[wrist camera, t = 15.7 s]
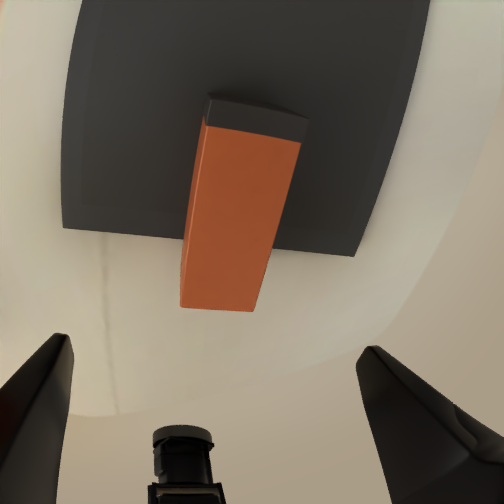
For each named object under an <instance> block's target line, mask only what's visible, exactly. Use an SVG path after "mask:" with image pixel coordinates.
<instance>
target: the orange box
mask: <svg viewBox="0 0 504 504" xmlns="http://www.w3.org/2000/svg"><path fill="white" fill-rule="evenodd" d="M309 121H310V119H309V118H308V117H305V116H303V115H301V114H299V113H296V112H294V111H292V110H290V109H287V108H285V107H282V106H277V105H273V104H268V103H264V102H259V101H254V100H249V99H244V98H238V97H233V96H227V95H221V94H215V93H207V94H206V98H205V103H204V108H203V120H202V125H201V130H200V136H199V141H198V147H197V153H196V159H195V165H194V171H193V177H192V183H191V190H190V197H189V204H188V211H187V218H186V225H185V233H184V241H183V249H182V257H181V272H180V306H181V307H182V308H195V309H210V310H227V311H246V312H253V311H254V308H255V305H256V301H257V298H258V294H259V291H260V288H261V284H262V281H263V277H264V274H265V270H266V267H267V264H268V260H269V257H270V253H271V250H272V246H273V243H274V239H275V236H276V232H277V229H278V225H279V222H280V218H281V215H282V211H283V208H284V204H285V201H286V197H287V193H288V190H289V186H290V183H291V179H292V175H293V172H294V168H295V165H296V161H297V157H298V154H299V150H300V146H301V143H303V142H304V139H305V135H306V132H307V128H308V124H309Z"/></svg>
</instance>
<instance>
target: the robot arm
mask: <svg viewBox="0 0 504 504" xmlns="http://www.w3.org/2000/svg"><path fill="white" fill-rule="evenodd" d="M73 366H74V353H73V349H72V345H71V341H70V337H69V336H68V335H67V334H62V333H54V334H53V335H52V336H51V337H50V338H49V339H48V340H47V341H46V342H45V343H44V344H43V345H42V346H41V347H40V348H39V349H38V350H37V351H36V352H35V353H34V354H33V355H32V356H31V357H30V358H29V359H28V360H27V361H26V362H25V363H24V364H23V365H22V366H21V367H20V368H19V369H18V370H17V371H16V372H15V374H14V375H13V376H12V377H11V378H10V379H9V380H8V381H7V382H6V383H5V384H4V385H3V386H2V387H1V389H0V504H56V497H57V486H58V477H59V468H60V459H61V453H62V446H63V440H64V434H65V428H66V422H67V417H68V412H69V404H70V393H71V383H72V374H73ZM356 372H357V376H358V381H359V386H360V390H361V395H362V400H363V404H364V408H365V411H366V415H367V418H368V421H369V425H370V428H371V431H372V434H373V437H374V441H375V444H376V448H377V451H378V454H379V458H380V461H381V465H382V468H383V472H384V475H385V479H386V483H387V486H388V490H389V494H390V498H391V502H392V504H504V437H502V436H500V435H499V434H497V433H496V432H494V431H493V430H491V429H490V428H488V427H486V426H485V425H483V424H481V423H480V422H479V421H477V420H476V419H474V418H473V417H471V416H470V415H469V414H467V413H466V412H464V411H463V410H461V409H460V408H459V407H458V406H457V405H455V404H453V402H451V401H450V400H449V399H447V398H446V397H445V396H443V395H442V394H441V393H439V392H438V391H437V390H436V389H434V388H433V387H432V386H431V385H429V384H428V383H427V382H425V381H424V380H423V379H421V378H420V377H419V376H417V375H416V374H415V373H414V372H412V371H411V370H410V369H408V368H407V367H406V366H404V365H403V364H402V363H400V362H399V361H398V360H397V359H395V358H394V357H392V356H391V355H390V354H389V353H387V352H386V351H385V350H383V349H382V348H381V347H379V346H377V345H375V346H367V347H366V348H365V349H364V351H363V353H362V354H361V356H360V357H359V359H358V361H357V363H356ZM214 446H215V445H214V443H211V442H205V441H198V440H192V439H187V438H181V437H176V436H168V437H167V438H166V439H165V440H164V441H163V442H162V443H160V444H159V445H158V446H157V447H156V448H155V449H154V450H153V454H154V473H155V476H157V477H158V479H159V483H155V482H152V485H148V504H226V501H225V497H224V493H223V488H222V484H221V483H213V478H212V470H211V463H210V456H209V450H211V449H212V448H213V447H214ZM159 495H160V496H159Z"/></svg>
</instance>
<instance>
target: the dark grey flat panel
mask: <svg viewBox="0 0 504 504" xmlns="http://www.w3.org/2000/svg"><path fill="white" fill-rule="evenodd" d="M429 4H430V0H83V1H82V4H81V8H80V12H79V16H78V21H77V25H76V29H75V34H74V39H73V44H72V50H71V55H70V61H69V68H68V74H67V82H66V90H65V99H64V109H63V122H62V139H61V206H62V224H63V228H68V229H79V230H90V231H100V232H111V233H121V234H132V235H142V236H153V237H163V238H173V239H183V240H184V233H185V225H186V218H187V211H188V204H189V197H190V190H191V183H192V177H193V171H194V165H195V159H196V153H197V147H198V141H199V136H200V130H201V125H202V120H203V108H204V103H205V98H206V94H207V93H215V94H221V95H227V96H233V97H238V98H244V99H249V100H254V101H259V102H264V103H268V104H273V105H277V106H282V107H285V108H287V109H290V110H292V111H294V112H296V113H299V114H301V115H303V116H305V117H308V118H309V119H310V121H309V124H308V128H307V132H306V135H305V139H304V142H303V143H301V146H300V150H299V154H298V157H297V161H296V165H295V168H294V172H293V175H292V179H291V183H290V186H289V190H288V193H287V197H286V201H285V204H284V208H283V211H282V215H281V218H280V222H279V225H278V229H277V232H276V236H275V239H274V243H273V246H272V248H273V249H283V250H293V251H303V252H312V253H322V254H331V255H341V256H350V257H354V256H355V253H356V251H357V249H358V246H359V244H360V241H361V239H362V236H363V234H364V231H365V229H366V226H367V223H368V221H369V218H370V216H371V213H372V210H373V208H374V205H375V202H376V199H377V197H378V194H379V191H380V188H381V185H382V183H383V180H384V177H385V174H386V171H387V168H388V165H389V162H390V159H391V156H392V153H393V150H394V146H395V143H396V140H397V137H398V134H399V130H400V127H401V124H402V120H403V117H404V113H405V110H406V106H407V103H408V99H409V95H410V91H411V88H412V84H413V80H414V76H415V72H416V68H417V63H418V59H419V55H420V50H421V46H422V41H423V36H424V31H425V26H426V21H427V16H428V10H429Z"/></svg>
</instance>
